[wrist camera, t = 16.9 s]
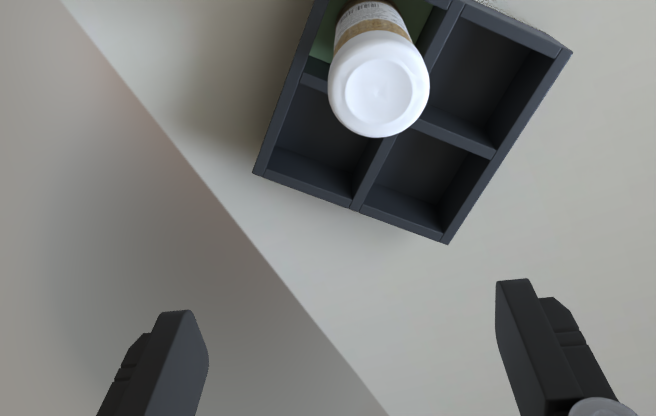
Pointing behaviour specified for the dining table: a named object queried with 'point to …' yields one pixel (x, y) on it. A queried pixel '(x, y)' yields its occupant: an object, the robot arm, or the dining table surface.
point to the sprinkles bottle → (375, 70)
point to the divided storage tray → (428, 130)
